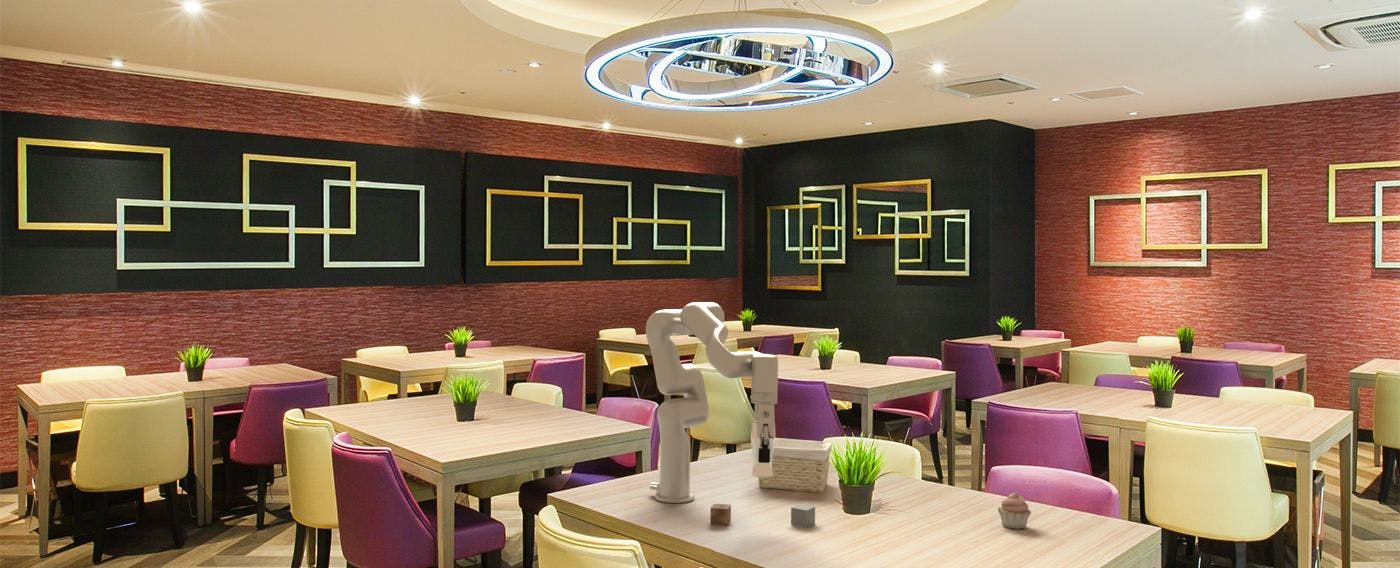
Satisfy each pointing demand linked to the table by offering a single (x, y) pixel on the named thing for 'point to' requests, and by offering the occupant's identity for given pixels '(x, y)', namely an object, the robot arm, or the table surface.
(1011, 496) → the cupcake
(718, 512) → the walnut block
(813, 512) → the slate-grey block
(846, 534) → the table surface
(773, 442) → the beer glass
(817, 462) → the storage basket
